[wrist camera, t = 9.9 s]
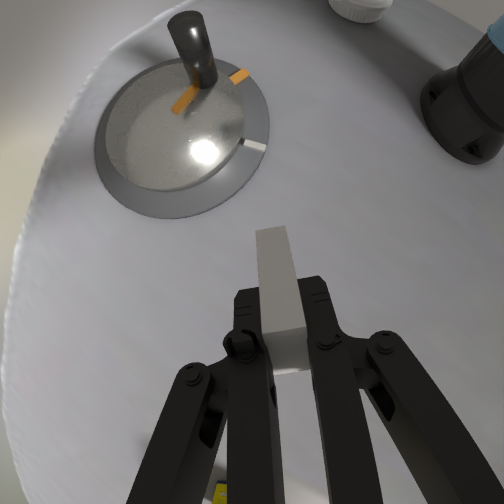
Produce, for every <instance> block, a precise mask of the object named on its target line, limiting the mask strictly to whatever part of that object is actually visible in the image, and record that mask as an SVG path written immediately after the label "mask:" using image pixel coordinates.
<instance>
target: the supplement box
mask: <svg viewBox="0 0 504 504" xmlns="http://www.w3.org/2000/svg"><path fill="white" fill-rule="evenodd" d="M212 504H227V481H217V485H216V489H215V493H214V497H213V501H212Z"/></svg>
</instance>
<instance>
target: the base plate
mask: <svg viewBox="0 0 504 504" xmlns="http://www.w3.org/2000/svg"><path fill="white" fill-rule="evenodd" d="M214 60H215V64H216V68H217V70H219V71H221V72H222V73H224V74H225V75H226V76H228V77H229V78H230V79H231V80H232V81H233V83H234V84H235V86H236V87H237V89H238V91H239V93H240V95H241V98H242V101H243V107H244V114H245V127H244V133H243V136H242V139H241V142H240V144H239V147H238V149H237V151H236V152H235V154H234V155H233V157H232V158H231V160H230V161H229V162H228V163H227V164H226V165H225V167H223V168H222V169H221V170H220V171H219V172H218V173H217V174H215V175H214V176H213V177H211V178H210V179H208V180H207V181H205V182H203V183H201V184H199V185H197V186H195V187H192V188H189V189H186V190H183V191H177V192H165V193H163V192H154V191H150V190H146V189H143V188H141V187H139V186H137V185H135V184H134V183H132V182H130V181H129V180H127V179H126V178H125V177H123V176H122V175H121V174H120V173H119V172H118V171H117V170H116V169H115V167H114V166H113V164H112V162H111V161H110V158H109V156H108V153H107V148H106V140H105V138H106V128H107V123H108V120H109V117H110V114H111V112H112V110H113V108H114V106H115V104H116V102H117V101H118V99H119V98H120V97H121V95H122V94H123V93H124V92H125V91H126V90H127V89H128V88H129V87H130V86H131V85H132V84H133V83H134V82H135V81H137V80H138V79H139V78H141V77H142V76H144V75H146V74H147V73H149V72H151V71H153V70H155V69H158V68H161V67H163V66H167V65H171V64H176V63H182V60H181V58H177V59H172V60H169V61H165V62H162V63H160V64H157V65H155V66H153V67H151V68H149V69H147V70H145V71H143V72H142V73H140V74H139V75H137V76H136V77H134V78H133V79H132V80H131V81H130V82H128V83H127V84H126V85H125V86H124V87H123V88H122V89H121V90H120V91H119V92H118V93H117V95H116V96H115V97H114V98H113V100H112V101H111V103H110V104H109V106H108V107H107V109H106V111H105V113H104V115H103V117H102V119H101V122H100V125H99V127H98V131H97V136H96V142H95V160H96V166H97V170H98V173H99V176H100V178H101V180H102V182H103V184H104V186H105V188H106V189H107V190H108V192H109V193H110V194H111V195H112V196H113V197H114V198H115V199H116V200H117V201H118V202H119V203H121V204H122V205H124V206H125V207H126V208H129V209H131V210H133V211H135V212H137V213H139V214H142V215H145V216H148V217H153V218H159V219H179V218H187V217H191V216H195V215H199V214H201V213H204V212H206V211H209V210H211V209H213V208H215V207H217V206H219V205H221V204H222V203H224V202H225V201H227V200H228V199H230V198H231V197H232V196H234V195H235V194H236V193H237V192H238V191H239V190H240V189H242V188H243V186H244V185H245V184H246V183H247V182H248V181H249V180H250V178H251V177H252V176H253V174H254V173H255V171H256V170H257V168H258V167H259V165H260V162H261V160H262V158H263V156H264V153H265V150H266V147H267V143H268V138H269V113H268V107H267V104H266V101H265V98H264V96H263V94H262V92H261V90H260V89H259V87H258V86H257V84H256V83H255V82H254V81H253V80H252V78H251V77H250V76H249V72H248V71H247V70H245V69H244V68H242V69H239V68H238V67H236V66H234V65H232V64H230V63H228V62H225V61H222V60H219V59H215V58H214Z"/></svg>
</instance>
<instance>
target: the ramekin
mask: <svg viewBox="0 0 504 504" xmlns="http://www.w3.org/2000/svg"><path fill="white" fill-rule="evenodd" d="M328 1H329V4H330V6H331V7H332V9H333V10H334V11H335V12H336V13H338V14H339V15H340V16H342V17H344V18H346V19H348V20H351V21H354V22H358V23H372V22H375V21H378V20H379V19H381V17H382V16H383V15H384V13H385V12H386V10H387V9H388V8H390V6H391V5H392V2H393V0H328Z"/></svg>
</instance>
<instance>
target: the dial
mask: <svg viewBox="0 0 504 504" xmlns="http://www.w3.org/2000/svg"><path fill="white" fill-rule="evenodd" d="M167 27H168V29H169V32H170V34H171V37H172V39H173V41H174V44H175V46H176V48H177V51H178V53H179V55H180V58H181V60H182V63H176V64H171V65H167V66H163V67H161V68H158V69H155V70H153V71H151V72H149V73H147V74H146V75H144V76H142V77H141V78H139V79H138V80H137V81H135V82H134V83H133V84H132V85H131V86H130V87H129V88H128V89H127V90H126V91H125V92H124V93H123V94H122V95H121V97H120V98H119V99H118V101H117V102H116V104H115V106H114V108H113V110H112V112H111V114H110V117H109V120H108V123H107V128H106V138H105V140H106V148H107V153H108V156H109V158H110V161H111V162H112V164H113V166H114V167H115V169H116V170H117V171H118V172H119V173H120V174H121V175H122V176H123V177H125V178H126V179H127V180H129V181H130V182H132V183H134V184H135V185H137V186H139V187H141V188H143V189H146V190H150V191H154V192H163V193H165V192H177V191H183V190H186V189H189V188H192V187H195V186H197V185H199V184H201V183H203V182H205V181H207V180H208V179H210V178H211V177H213V176H214V175H215V174H217V173H218V172H219V171H220V170H221V169H222V168H223V167H225V165H226V164H227V163H228V162H229V161H230V160H231V158H232V157H233V155H234V154H235V152H236V151H237V149H238V147H239V144H240V142H241V139H242V136H243V133H244V127H245V114H244V107H243V101H242V98H241V95H240V93H239V91H238V89H237V87H236V86H235V84H234V83H233V81H232V80H231V79H230V78H229V77H228V76H226V75H225V74H224V73H222V72H221V71H219V70H217V68H216V64H215V60H214V57H213V53H212V49H211V46H210V42H209V38H208V34H207V31H206V27H205V23H204V20H203V16H202V14H201V13H199V12H197V11H184V12H181V13H178V14H176V15H175V16H173V17H172V18H171V19H170V20H169V22H168V25H167Z"/></svg>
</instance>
